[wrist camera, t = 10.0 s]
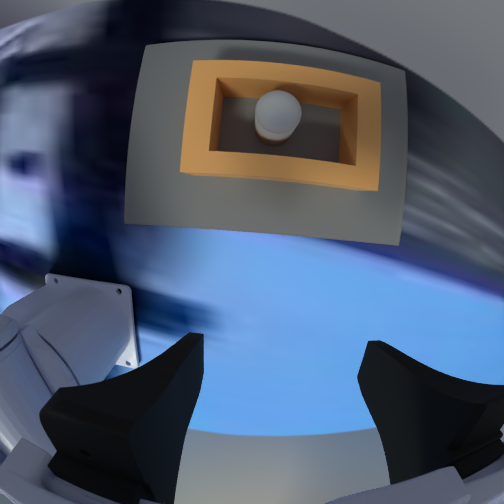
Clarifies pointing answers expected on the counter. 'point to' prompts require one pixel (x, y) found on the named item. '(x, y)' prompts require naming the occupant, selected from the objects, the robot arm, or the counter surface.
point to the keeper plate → (261, 149)
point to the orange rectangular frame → (305, 91)
